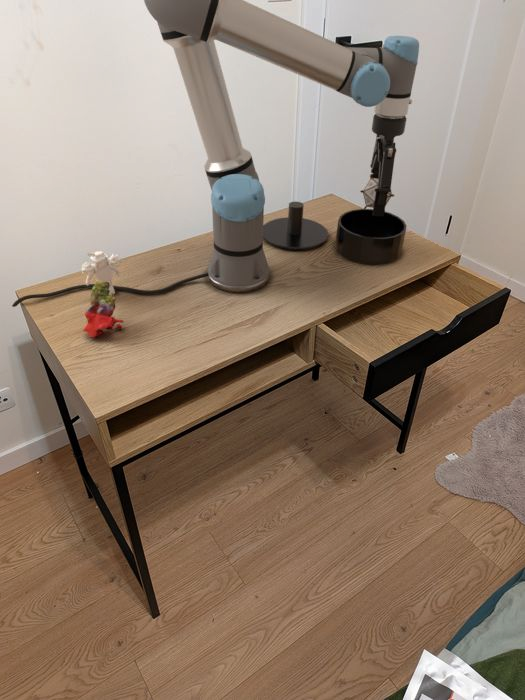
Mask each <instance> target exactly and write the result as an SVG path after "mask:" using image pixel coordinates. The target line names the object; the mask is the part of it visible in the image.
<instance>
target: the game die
mask: <svg viewBox="0 0 525 700" xmlns="http://www.w3.org/2000/svg"><path fill="white" fill-rule="evenodd" d="M370 178H371V179H370ZM384 187H386V186H384ZM377 188H378V178H372V176H371V174H369V180H368V182H367V183H366V186H365V187H364V189H363V190H362V189H361V190H360V193H361V194H362V195H363V199H364V203H365V206H363V209H367V208H371V209H373V207H374V201H375V195H376V192H375V189H377ZM392 197H395V194H394V193H392V190H391V191H390V192H388V194H387V200H386V205H385V207H386V206H387V205H388V203H389V201H390V199H391V198H392ZM384 212H386V210H385V211H384Z"/></svg>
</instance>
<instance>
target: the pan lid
mask: <svg viewBox="0 0 525 700" xmlns="http://www.w3.org/2000/svg"><path fill="white" fill-rule="evenodd" d="M304 205H305V204H304V203H303V202H300V201H291V202H289V203H288V212H287V217H279V218H275V219H272V220H270V221H267V222H266V223H264V224H263V241H265V242H266V243H268V244H270V245H272V246H273V247H277V248H280V249H285V250H292V251H294V250H296V251H299V250H301V251H302V250H309V249H313V248H317V247H320V246H322V245H323V244H324V243H325V242H326V241H327V240H328V236H329V233H328V230H327V228H326V227H325V226H323V225H322V224H321V223H319V222H317V221H315V220H312V219H308V218H304V217H303V216H304Z"/></svg>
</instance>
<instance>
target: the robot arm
mask: <svg viewBox="0 0 525 700" xmlns="http://www.w3.org/2000/svg"><path fill="white" fill-rule="evenodd" d="M143 2H144V5H145V7H146V9H147V11H148V12H149V14H150V16H151V17H152V18H153V19H154V20H155V21H156V23H157V26H158V29H159V32H160V35H161V38H162V41H163V42H164V43H166V44H167V45H169V46H170V47H171V48H173V49H172V50H173V51H174V55H175V59H176V61H177V65H178V68H179V70H180V74H181V77H182V80H183V83H184V86H185V89H186V93H187V96H188V99H189V102H190V106H191V108H192V109H191V110H192V112H193V116H194V118H195V122H196V125H197V128H198V131H199V134H200V137H201V140H202V144H203V147H204V150H205V153H206V157H207V160H206V161H205V164H204V165H203V166H204V171H205V174H206V177H207V181H208V184H209V186H210V190H211V195H210V202H211V209H212V213H211V214H212V236H213V237H212V238H213V240H212V241H213V249H212V253H211V255H210V259H209V263H208V265H207V268H206V269H207V270H206V272H203V273H200V274H198V275H194V276H191V277H188V278H184V279H181V280H179V281H176V282H175V283H172V284H170V285H168V286H166V287H162V288H159V289H151V290H149V289H147V290H145V289H137V288H133V287H128V286H118V285H113V288H114V291H125V292H129V293H130V292H131V293H136V294H141V295H155V294H161V293H165V292H168V291H170V290H173V289H174V288H177V287H179V286H181V285H183V284H184V285H185V284H188V283H190V282H193V281H196V280H199V279H202V278H206V277H207V281H208V282H209V283H210V284H211V286H213V287H215V288H216V289H218V290H221V291H224V292H228V293H235V294H237V293H248V292H253V291H257V290H259V289H261V288H263V287H264V286H265V285H266V284H267V283H268V282H269V280H270V273H271V272H270V271H271V270H270V266H269V263H268V260H267V256H266V254H265V251H264V239H263V226H264V219H265V218H264V215H265V213H264V212H265V203H266V195H265V189H264V186H263V184H262V183H261V181H260V178H259V174H258V172H257V171H256V168H255V164H254V160H253V156H252V152H251V151H250V150H248V149H245V148H244V147H243V143H242V140H241V139H242V138H241V136H240V132H239V129H238V125H237V120H236V117H235V114H234V110H233V107H232V102H231V99H230V95H229V92H228V87H227V84H226V80H225V76H224V74H223V69H222V65H221V61H220V58H219V54H218V51H217V46H216V43H215V41H217V42H220V43H223V44H225V45H228V46H230V47H232V48H234V49H237V50H239V51H241V52H244V53H247V54H249V55H251V56H254V57H256V58H259V59H261V60H263V61H265V62H267V63H270V64H272V65H275V66H277V67H279V68H281V69H284V70H286V71H288V72H291V73H293V74H295V75H298V76H301V77H303V78H305V79H307V80H310V81H312V82H315V83H317V84H320V85H322V86H324V87H326V88H329V89H332V90H333V91H336V92H338V93H339V94H342V95H344V96H346V97H349V98H350V99H352V100H353V101H354V102H355V103H356V104H358V105H360V106H363V107H366V108H371V107H374V110H373V112H374V114H373V117H372V125H371V132H372V133H373V134H375V136H376V137H375V142H374V147H373V152H372V157H371V162H370V165H369V166H370V175H371V176H372V178H378V188H377V189H375V192H376V195H375V201H374V207H373V208H372V209H373V213H372V215H373V216H384V211H385V212H386V206H387V204H386V200H387V194H388V192H390V191H391V192H392V181H393V173H394V165H395V158H396V153H397V148H396V142H395V138H396V137H400V136H402V135H403V134H405V130H406V124H407V120H408V119H407V115H408V111H409V105H412V104H413V100H412V99H411V97H412V92H413V91H412V90H413V84H414V80H415V75H416V71H417V66H418V59H419V53H420V42H419V40H418V39H417V38H415V37H412V36H407V35H389V36H387V37H386V38H385V39H384V42H383V44H382V46H380V47H354V46H353V47H349V46H344V45H341V44H339V43H337V42H335V41H333V40H331V39H329V38H326V37H324V36H322V35H320V34H317V33H315V32H314V31H311V30H309V29H307V28H304V27H302V26H300V25H298V24H295V23H294V22H291V21H290V20H287V19H285V18H283V17H280V16H278V15H277V14H274V13H271V12H269V11H268V10H265V9H263V8H261V7H259V6H256V5H254V4H252V3H250V2H248V1H246V0H143ZM370 179H371V178H370V177H369V180H370ZM384 186H386V187H384ZM385 205H386V206H385ZM95 284H96V283H89V285H88V286H87V284H86V283H85V284H79V285H74V286H73V285H72V286H71V287H66V288H64V289H59V290H56V291H52V292H47V293H35V294H27V295H23V296H20V297H19V298H18V299H16V300H15V301H14V302H13V304H12V305H11V307H13V308H15V307H17V306H18V305H20V303H22V302H24V301H26V300H30V299H31V300H32V299H40V298H41V299H42V298H50V297H54V296H58V295H62V294H65V293H68V292H71V291H76V290H81V289H90V288H91V289H92V288H93V286H94V285H95Z"/></svg>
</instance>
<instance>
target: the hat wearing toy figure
mask: <svg viewBox="0 0 525 700" xmlns="http://www.w3.org/2000/svg"><path fill="white" fill-rule="evenodd" d="M86 255H87V257H89V259H90V260H91V261H92V263H91V262H87V261H86V262H83V264H82V265H81V273H82V275H85V273H86V274H87V276H86V279H85V284H87V286H88V285H89V284H91V283H92V281H93V278H94V275H95V278H96V282H97V281H103V282H108V283H109V285H110V286H109V291H110V292H109V294H108V296H110V295H111V293H113V295H115V294H116V290H115V289H114V288H113V286H114V285H113V282H112V279H113V278H112V277H113V275H116V276H117V277H118V278H120V276H121V272H120V270H119V269H118V268H117V267H119V266H121V265H120V264H121V263H122V258H121V257H119V254H114V253H112V254H111V256H110V257H109V256H108V255H107V254H106V253H105V252H104V251H101V250H97V251H92V252H88V253H87V254H86ZM108 257H109V258H108Z"/></svg>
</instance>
